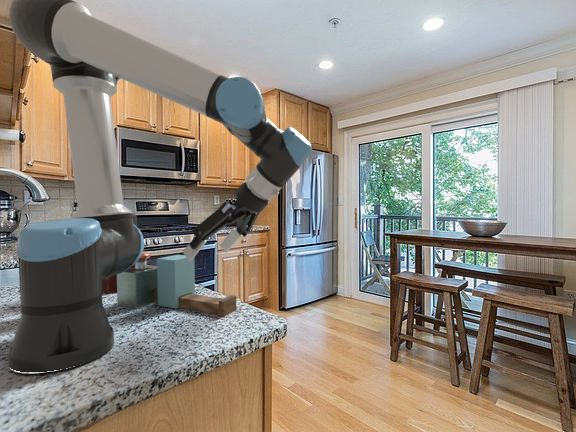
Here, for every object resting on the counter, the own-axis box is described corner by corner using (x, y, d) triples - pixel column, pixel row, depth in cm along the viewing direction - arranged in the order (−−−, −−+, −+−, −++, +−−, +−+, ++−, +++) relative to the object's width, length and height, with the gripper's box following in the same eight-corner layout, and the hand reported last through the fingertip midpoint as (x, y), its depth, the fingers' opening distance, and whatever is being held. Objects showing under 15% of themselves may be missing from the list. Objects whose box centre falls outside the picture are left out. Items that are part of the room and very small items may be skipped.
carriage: (194, 300, 85) (194, 256, 84) (175, 308, 78) (174, 260, 78) (178, 298, 87) (177, 254, 87) (157, 305, 81) (157, 258, 81)
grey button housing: (164, 299, 87) (163, 266, 86) (136, 309, 79) (135, 273, 78) (146, 296, 90) (145, 264, 89) (117, 305, 82) (116, 271, 81)
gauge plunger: (143, 280, 81) (143, 255, 81) (127, 279, 82) (127, 255, 82) (154, 276, 86) (153, 252, 86) (139, 275, 87) (138, 252, 86)
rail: (236, 309, 78) (236, 295, 78) (224, 316, 73) (223, 301, 73) (170, 298, 87) (169, 286, 87) (155, 304, 83) (155, 290, 83)
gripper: (236, 201, 59) (177, 273, 66) (291, 202, 82) (243, 255, 89) (213, 174, 61) (158, 247, 68) (273, 182, 84) (227, 236, 91)
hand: (206, 252), depth 78 cm, fingers open, 13 cm apart
